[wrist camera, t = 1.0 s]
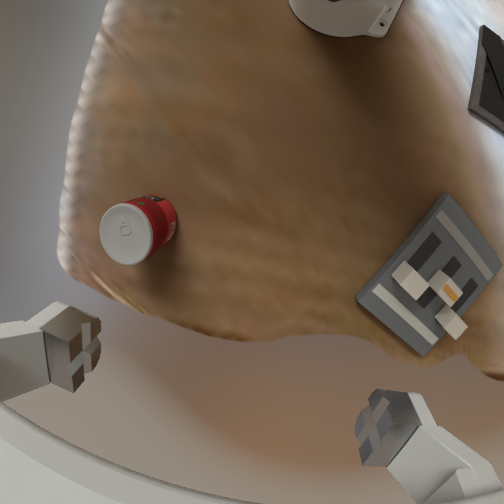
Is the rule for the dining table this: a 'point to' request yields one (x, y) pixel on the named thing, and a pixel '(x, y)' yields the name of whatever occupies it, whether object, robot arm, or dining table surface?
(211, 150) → the dining table surface
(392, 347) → the dining table surface
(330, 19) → the robot arm
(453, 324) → the breaker
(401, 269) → the block
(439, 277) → the breaker mid
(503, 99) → the picture frame
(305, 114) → the dining table surface
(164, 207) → the canned food
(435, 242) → the panel
